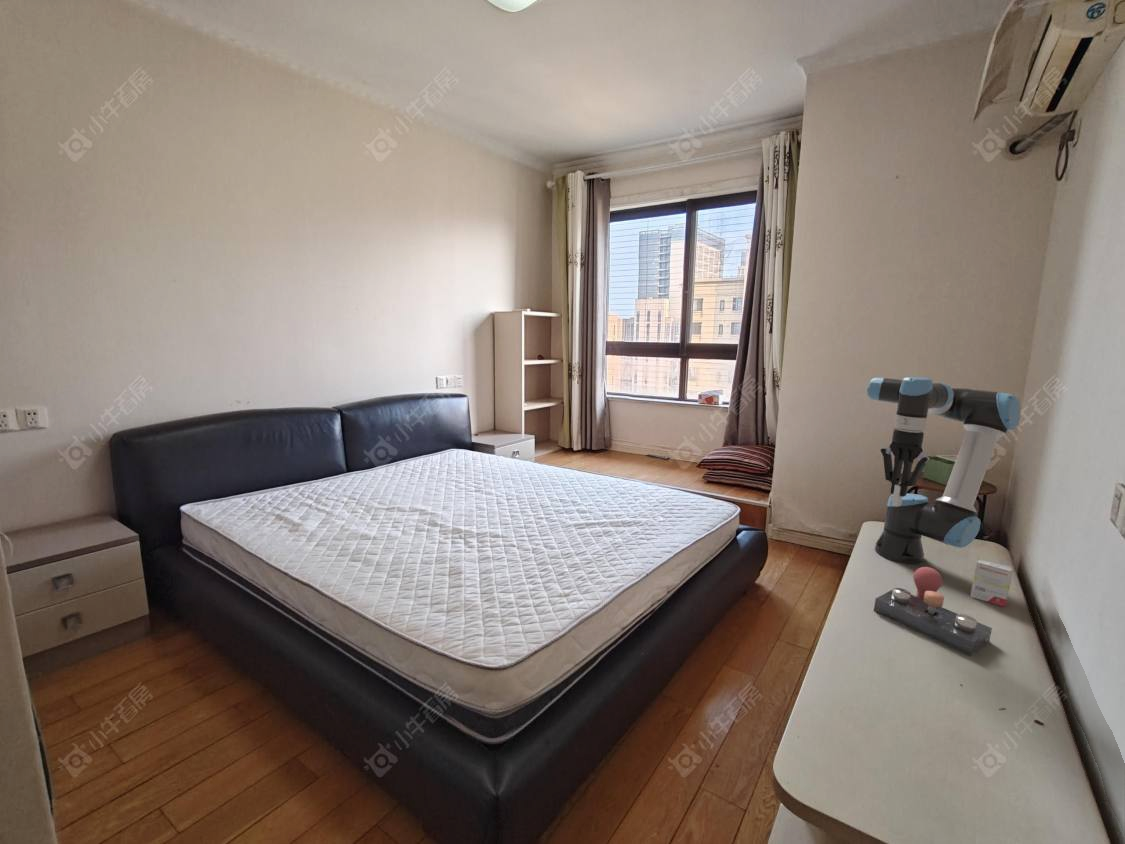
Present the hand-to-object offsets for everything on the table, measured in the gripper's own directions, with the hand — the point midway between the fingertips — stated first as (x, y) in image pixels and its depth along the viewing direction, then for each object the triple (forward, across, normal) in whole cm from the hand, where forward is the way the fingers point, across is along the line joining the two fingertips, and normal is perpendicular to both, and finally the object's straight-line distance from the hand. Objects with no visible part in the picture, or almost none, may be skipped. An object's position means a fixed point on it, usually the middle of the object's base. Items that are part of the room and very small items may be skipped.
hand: (896, 505), depth 155 cm
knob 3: (+29, +24, -7) cm, 38 cm away
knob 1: (+29, +8, -7) cm, 31 cm away
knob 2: (+26, +16, -7) cm, 31 cm away
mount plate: (+29, +16, -7) cm, 34 cm away
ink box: (+30, +19, +26) cm, 44 cm away
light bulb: (+30, +10, +4) cm, 32 cm away
